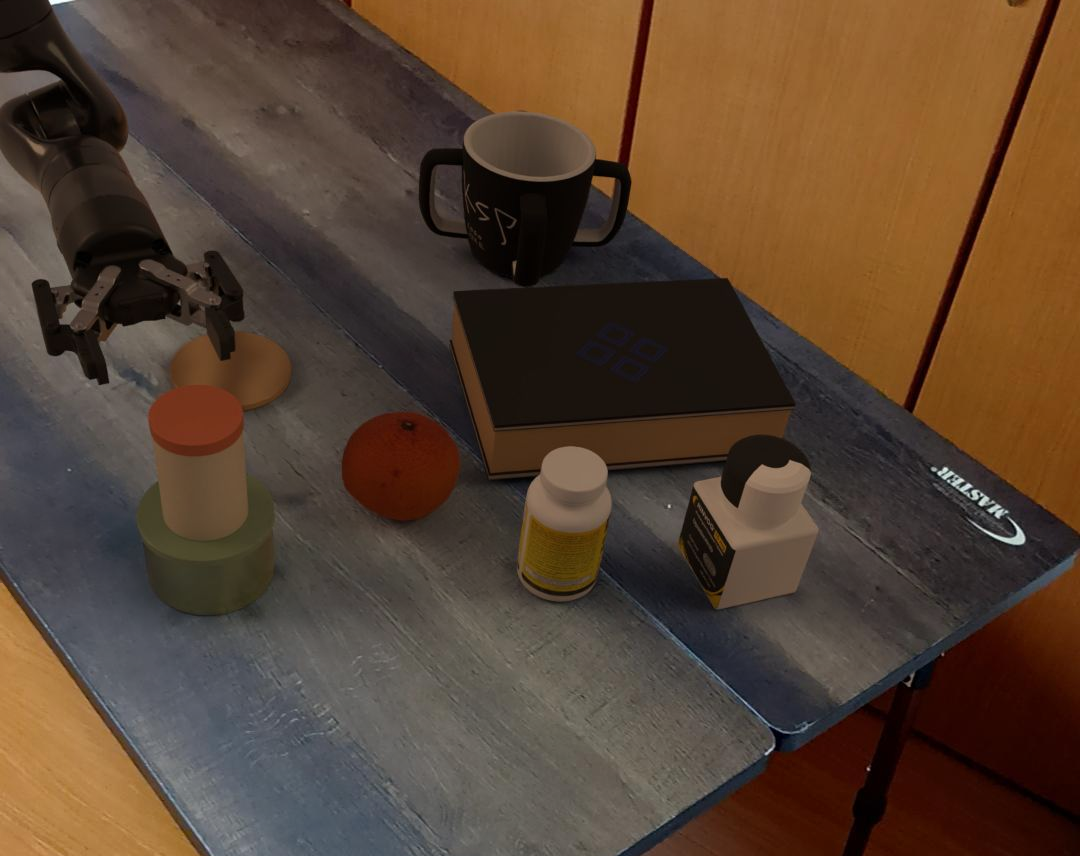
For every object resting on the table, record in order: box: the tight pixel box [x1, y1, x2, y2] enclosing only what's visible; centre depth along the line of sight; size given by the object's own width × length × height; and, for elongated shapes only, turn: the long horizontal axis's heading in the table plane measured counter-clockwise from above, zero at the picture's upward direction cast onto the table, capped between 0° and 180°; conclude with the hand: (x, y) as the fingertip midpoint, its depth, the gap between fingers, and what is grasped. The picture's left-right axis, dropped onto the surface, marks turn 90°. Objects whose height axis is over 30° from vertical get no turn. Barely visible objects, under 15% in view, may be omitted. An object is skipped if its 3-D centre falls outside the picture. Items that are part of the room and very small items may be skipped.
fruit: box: [341, 411, 461, 521], centre depth 101 cm, size 9×9×8 cm
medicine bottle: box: [677, 435, 819, 611], centre depth 98 cm, size 7×7×12 cm
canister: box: [147, 385, 248, 541], centre depth 89 cm, size 6×6×9 cm
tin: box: [135, 472, 276, 616], centre depth 94 cm, size 9×9×6 cm
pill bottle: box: [516, 446, 613, 603], centre depth 96 cm, size 6×6×11 cm
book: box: [448, 277, 797, 481], centre depth 112 cm, size 17×25×7 cm
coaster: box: [169, 330, 292, 412], centre depth 112 cm, size 10×10×1 cm
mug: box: [418, 110, 633, 288], centre depth 124 cm, size 16×16×12 cm
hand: (165, 362), depth 92 cm, fingers open, 8 cm apart
